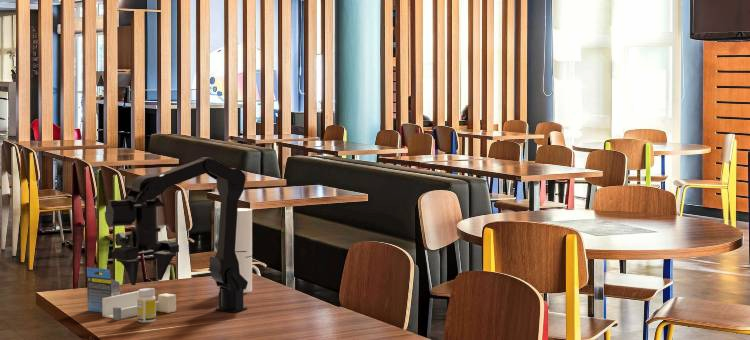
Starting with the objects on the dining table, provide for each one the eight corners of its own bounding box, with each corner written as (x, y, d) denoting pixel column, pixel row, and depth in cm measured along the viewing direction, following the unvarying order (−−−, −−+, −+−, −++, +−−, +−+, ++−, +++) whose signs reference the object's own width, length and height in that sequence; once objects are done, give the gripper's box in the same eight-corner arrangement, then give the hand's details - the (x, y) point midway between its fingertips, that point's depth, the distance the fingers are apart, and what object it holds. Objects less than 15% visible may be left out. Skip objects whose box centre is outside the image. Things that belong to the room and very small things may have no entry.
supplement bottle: (158, 319, 282) (158, 288, 281) (152, 323, 277) (152, 291, 277) (140, 318, 282) (140, 287, 282) (135, 322, 278) (134, 291, 277)
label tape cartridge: (120, 312, 291) (120, 267, 290) (111, 314, 288) (110, 269, 287) (96, 308, 295) (96, 264, 294) (86, 311, 292) (85, 266, 291)
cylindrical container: (225, 289, 324) (225, 208, 322) (247, 288, 327) (247, 207, 325) (232, 293, 318) (232, 211, 316) (255, 292, 321) (255, 210, 319)
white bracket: (180, 310, 294) (180, 292, 294) (127, 322, 278) (126, 303, 278) (154, 305, 300) (154, 287, 300) (100, 316, 284) (100, 298, 284)
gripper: (151, 218, 290) (152, 274, 291) (97, 225, 275) (98, 284, 276) (180, 221, 284) (180, 278, 285) (126, 228, 269) (127, 289, 270)
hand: (146, 282), depth 279 cm, fingers open, 9 cm apart
